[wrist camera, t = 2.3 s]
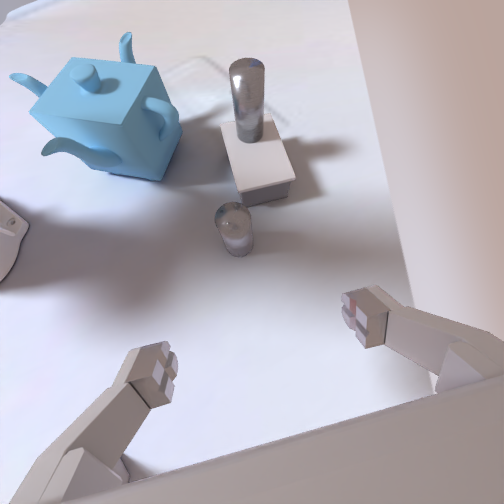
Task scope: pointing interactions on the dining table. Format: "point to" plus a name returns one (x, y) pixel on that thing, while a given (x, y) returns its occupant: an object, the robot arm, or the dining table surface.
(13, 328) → the dining table surface
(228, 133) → the scale
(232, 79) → the cylinder
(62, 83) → the teakettle
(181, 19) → the dining table surface
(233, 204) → the ball
